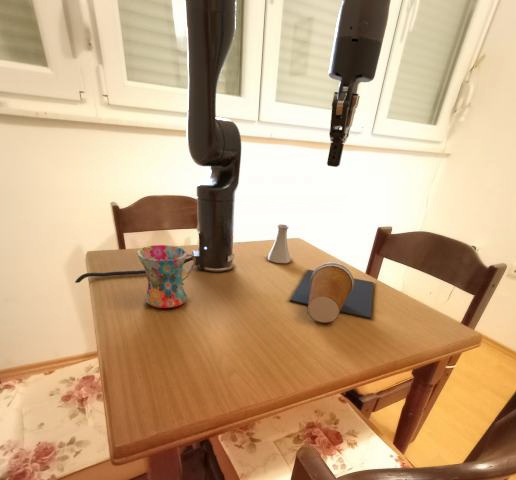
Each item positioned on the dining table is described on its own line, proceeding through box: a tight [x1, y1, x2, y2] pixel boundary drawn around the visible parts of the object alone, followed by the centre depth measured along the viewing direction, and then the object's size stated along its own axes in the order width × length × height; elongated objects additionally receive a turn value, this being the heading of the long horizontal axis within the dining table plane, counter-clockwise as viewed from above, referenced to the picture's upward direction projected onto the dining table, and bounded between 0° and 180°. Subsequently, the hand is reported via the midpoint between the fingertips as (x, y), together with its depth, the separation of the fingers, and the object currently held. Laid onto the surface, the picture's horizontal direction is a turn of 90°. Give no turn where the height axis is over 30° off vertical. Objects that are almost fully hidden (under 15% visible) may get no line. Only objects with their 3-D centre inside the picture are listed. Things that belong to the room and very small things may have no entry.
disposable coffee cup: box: [307, 261, 355, 324], centre depth 66 cm, size 10×10×12 cm
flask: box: [267, 224, 292, 264], centre depth 92 cm, size 7×7×10 cm
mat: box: [289, 269, 374, 320], centre depth 78 cm, size 22×18×1 cm
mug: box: [136, 244, 196, 309], centre depth 64 cm, size 12×9×11 cm
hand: (332, 166), depth 59 cm, fingers closed
